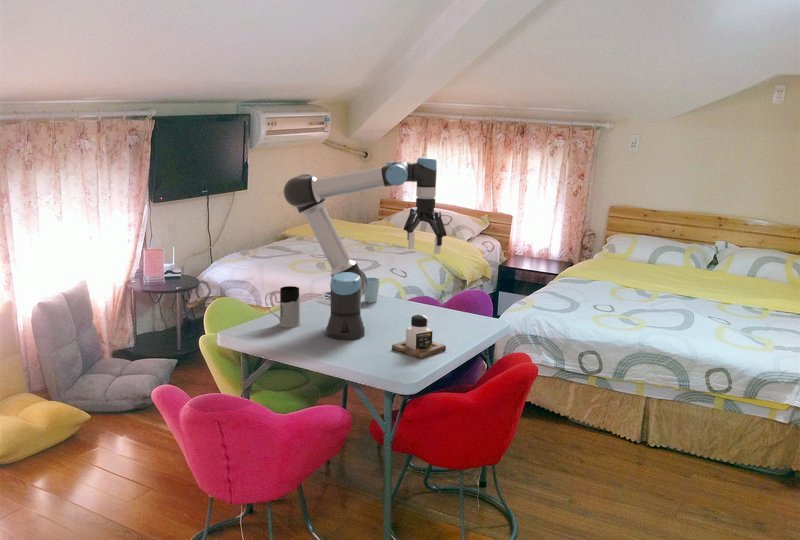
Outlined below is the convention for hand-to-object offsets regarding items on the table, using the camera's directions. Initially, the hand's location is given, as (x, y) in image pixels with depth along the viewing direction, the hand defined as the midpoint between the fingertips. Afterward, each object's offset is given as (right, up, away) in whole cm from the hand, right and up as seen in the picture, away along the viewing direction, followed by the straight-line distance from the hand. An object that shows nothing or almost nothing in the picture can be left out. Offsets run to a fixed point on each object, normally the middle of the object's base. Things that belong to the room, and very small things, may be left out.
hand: (423, 251), depth 277 cm
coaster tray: (-3, -37, -19) cm, 42 cm away
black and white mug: (-57, -30, +6) cm, 64 cm away
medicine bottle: (-3, -36, -19) cm, 41 cm away
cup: (-23, -22, +45) cm, 55 cm away
